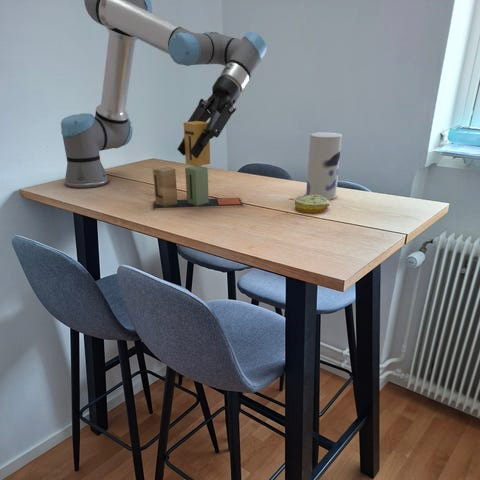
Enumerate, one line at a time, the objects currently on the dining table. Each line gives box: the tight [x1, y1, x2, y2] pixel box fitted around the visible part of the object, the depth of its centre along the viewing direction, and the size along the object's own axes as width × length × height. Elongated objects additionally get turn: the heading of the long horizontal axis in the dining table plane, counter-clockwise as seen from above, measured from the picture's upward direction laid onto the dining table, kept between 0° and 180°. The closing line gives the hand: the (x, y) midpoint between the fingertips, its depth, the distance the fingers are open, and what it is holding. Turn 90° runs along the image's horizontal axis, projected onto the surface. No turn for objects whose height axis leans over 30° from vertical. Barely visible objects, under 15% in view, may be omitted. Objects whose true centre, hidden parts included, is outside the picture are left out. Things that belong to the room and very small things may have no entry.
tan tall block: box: [152, 165, 178, 207], centre depth 147 cm, size 5×5×11 cm
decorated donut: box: [294, 194, 331, 214], centre depth 146 cm, size 10×11×4 cm
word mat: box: [153, 197, 243, 210], centre depth 151 cm, size 28×9×1 cm, turn 97°
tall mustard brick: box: [183, 121, 211, 167], centre depth 131 cm, size 5×5×11 cm
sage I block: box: [184, 165, 210, 206], centre depth 148 cm, size 5×5×11 cm
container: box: [305, 131, 343, 201], centre depth 154 cm, size 10×10×20 cm
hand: (187, 153), depth 130 cm, fingers closed on tall mustard brick, 5 cm apart
